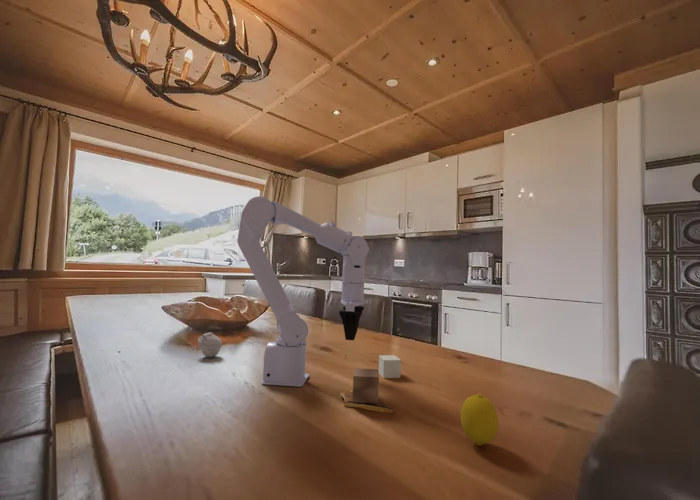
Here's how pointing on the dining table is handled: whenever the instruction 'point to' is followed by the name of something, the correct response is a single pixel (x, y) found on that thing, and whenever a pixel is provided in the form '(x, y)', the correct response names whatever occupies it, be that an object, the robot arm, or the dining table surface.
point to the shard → (379, 406)
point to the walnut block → (365, 385)
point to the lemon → (479, 419)
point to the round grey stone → (209, 344)
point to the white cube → (389, 366)
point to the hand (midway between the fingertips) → (351, 336)
